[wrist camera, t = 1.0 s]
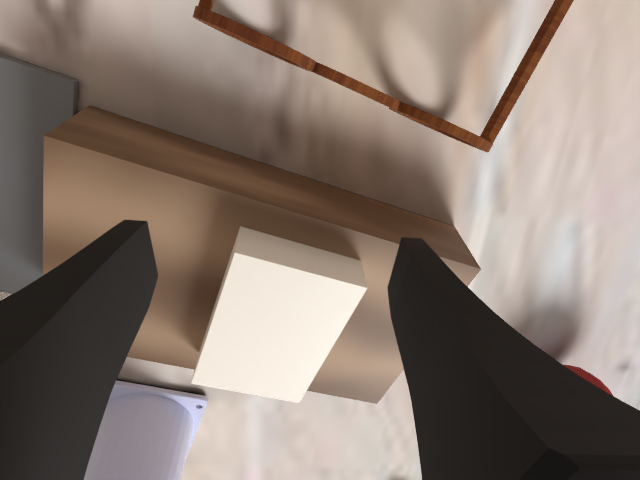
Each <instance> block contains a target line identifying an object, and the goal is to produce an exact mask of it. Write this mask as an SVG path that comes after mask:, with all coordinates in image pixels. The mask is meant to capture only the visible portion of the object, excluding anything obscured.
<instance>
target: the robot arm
mask: <svg viewBox="0 0 640 480" xmlns="http://www.w3.org/2000/svg"><path fill="white" fill-rule="evenodd" d="M157 279H158V271H157V266H156V261H155V257H154V252H153V247H152V242H151V237H150V232H149V227H148V222H147V221H139V220H123V221H122V222H120V223H118V224H117V225H116V226H114V227H113V228H111V229H110V230H108V231H107V232H106V233H104V234H103V235H101V236H100V237H99V238H97V239H96V240H94V241H93V242H92V243H90V244H89V245H87V246H86V247H85V248H83V249H82V250H80V251H79V252H77V253H76V254H75V255H73V256H72V257H70V258H69V259H67V260H66V261H65V262H63V263H62V264H60V265H59V266H57V267H55V268H54V269H52V270H51V271H49V272H48V273H46V274H44V275H43V276H41V277H40V278H38V279H37V280H35V281H34V282H32V283H30V284H29V285H27V286H26V287H24V288H22V289H21V290H19V291H17V292H16V293H14V294H12V295H10V296H9V297H7V298H5V299H3V300H1V301H0V480H181V479H182V475H183V470H184V465H185V461H186V457H187V455H188V452H189V449H190V447H191V444H192V442H193V439H194V436H195V434H196V431H197V429H198V426H199V423H200V421H201V418H202V416H203V413H204V410H205V408H206V405H207V401H208V398H207V397H206V396H203V395H198V394H192V393H186V392H181V391H175V390H169V389H163V388H157V387H152V386H146V385H140V384H134V383H129V382H123V381H117V380H116V379H117V377H118V375H119V372H120V370H121V368H122V366H123V364H124V362H125V359H126V357H127V355H128V353H129V351H130V348H131V346H132V344H133V342H134V340H135V338H136V335H137V333H138V331H139V329H140V327H141V324H142V322H143V320H144V318H145V315H146V313H147V311H148V309H149V306H150V303H151V300H152V296H153V293H154V290H155V286H156V283H157ZM387 289H388V298H389V307H390V315H391V320H392V324H393V328H394V332H395V336H396V340H397V344H398V348H399V352H400V356H401V360H402V363H403V367H404V371H405V375H406V379H407V383H408V387H409V391H410V396H411V401H412V407H413V414H414V420H415V427H416V434H417V441H418V449H419V456H420V464H421V472H422V480H640V411H639V410H637V409H635V408H634V407H632V406H630V405H628V404H626V403H624V402H622V401H621V400H619V399H617V398H615V397H614V396H612V395H610V394H608V393H607V392H605V391H604V390H602V389H600V388H599V387H597V386H595V385H594V384H592V383H590V382H589V381H587V380H585V379H584V378H582V377H581V376H579V375H577V374H576V373H574V372H573V371H571V370H570V369H568V368H567V367H565V366H564V365H562V364H561V363H559V362H558V361H556V360H555V359H554V358H552V357H551V356H549V355H548V354H546V353H545V352H544V351H542V350H541V349H539V348H538V347H537V346H535V345H534V344H533V343H531V342H530V341H529V340H527V339H526V338H525V337H523V336H522V335H521V334H520V333H518V332H517V331H516V330H515V329H513V328H512V327H511V326H510V325H508V324H507V323H506V322H505V321H504V320H502V319H501V318H500V317H499V316H498V315H497V314H496V313H494V312H493V311H492V310H491V309H490V308H489V307H488V306H487V305H486V304H485V303H484V302H483V301H481V300H480V299H479V298H478V297H477V296H476V295H475V294H474V293H473V292H472V291H471V290H470V289H469V288H468V287H467V286H466V285H465V284H464V283H463V282H462V281H461V280H460V279H459V278H458V277H457V276H456V275H455V273H454V272H453V271H452V270H451V269H450V268H449V267H448V266H447V265H446V264H445V263H444V262H443V261H442V259H441V258H440V257H439V256H438V255H437V254H436V253H435V252H434V251H433V250H432V248H431V247H430V246H429V245H428V244H427V243H426V242H425V241H424V240H423V239H422V238H407V237H401V241H400V244H399V248H398V251H397V255H396V259H395V262H394V266H393V269H392V273H391V276H390V280H389V284H388V287H387Z"/></svg>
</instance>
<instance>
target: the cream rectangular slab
mask: <svg viewBox="0 0 640 480" xmlns="http://www.w3.org/2000/svg"><path fill="white" fill-rule="evenodd" d="M366 290H367V284H366V280H365V275H364V271H363V267H362V262H361V261H360V260H357V259H353V258H350V257H346V256H343V255H339V254H336V253H332V252H329V251H325V250H322V249H318V248H315V247H311V246H308V245H304V244H301V243H297V242H294V241H290V240H287V239H283V238H280V237H276V236H273V235H269V234H266V233H262V232H259V231H255V230H252V229H248V228H245V227H241V226H240V229H239V232H238V235H237V238H236V241H235V244H234V247H233V250H232V253H231V256H230V259H229V262H228V265H227V268H226V272H225V275H224V278H223V281H222V284H221V287H220V290H219V293H218V296H217V299H216V302H215V305H214V308H213V311H212V314H211V317H210V321H209V324H208V327H207V330H206V333H205V336H204V339H203V342H202V345H201V348H200V351H199V355H198V359H197V363H196V367H195V371H194V375H193V379H192V383H191V384H196V385H202V386H207V387H213V388H219V389H224V390H230V391H235V392H241V393H246V394H252V395H258V396H263V397H269V398H274V399H280V400H286V401H291V402H297V403H300V401H301V399H302V398H303V396H304V394H305V393H306V391H307V389H308V387H309V386H310V384H311V382H312V381H313V379H314V377H315V376H316V374H317V372H318V371H319V369H320V367H321V366H322V364H323V362H324V361H325V359H326V357H327V355H328V354H329V352H330V350H331V349H332V347H333V345H334V344H335V342H336V340H337V339H338V337H339V335H340V334H341V332H342V330H343V328H344V327H345V325H346V323H347V322H348V320H349V318H350V317H351V315H352V313H353V312H354V310H355V308H356V307H357V305H358V303H359V302H360V300H361V298H362V296H363V295H364V293H365V291H366Z"/></svg>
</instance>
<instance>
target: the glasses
mask: <svg viewBox="0 0 640 480" xmlns="http://www.w3.org/2000/svg"><path fill="white" fill-rule="evenodd" d="M572 2H573V0H555V1H554V3H553V5H552V7H551V9H550V10H549V12H548V14H547V16H546V18H545V19H544V21H543V23H542V25H541V27H540V28H539V30H538V32H537V34H536V36H535V38H534V39H533V41H532V43H531V45H530V47H529V48H528V50H527V52H526V54H525V56H524V58H523V59H522V61H521V63H520V65H519V67H518V68H517V70H516V72H515V74H514V76H513V77H512V79H511V81H510V83H509V85H508V87H507V88H506V90H505V92H504V94H503V96H502V97H501V99H500V101H499V103H498V105H497V107H496V108H495V110H494V112H493V114H492V116H491V117H490V119H489V121H488V123H487V125H486V127H485V128H484V130H483V132H482V134H481V136H480V137H479V136H477V135H475V134H473V133H471V132H469V131H467V130H465V129H463V128H460V127H458V126H456V125H454V124H452V123H450V122H447V121H445V120H443V119H441V118H438V117H436V116H434V115H431V114H429V113H427V112H424V111H422V110H420V109H417V108H415V107H413V106H410V105H408V104H405V103H402V102H400V101H398V100H397V99H395V98H393V97H391V96H389V95H387V94H384V93H382V92H380V91H378V90H376V89H374V88H372V87H370V86H367V85H365V84H363V83H361V82H359V81H357V80H355V79H353V78H351V77H348V76H346V75H344V74H342V73H340V72H338V71H335V70H333V69H331V68H329V67H327V66H324V65H322V64H320V63H317V62H315V61H314V60H313V59H311V58H309V57H307V56H305V55H303V54H301V53H300V52H298V51H296V50H294V49H292V48H290V47H288V46H286V45H284V44H282V43H280V42H278V41H276V40H274V39H272V38H270V37H268V36H266V35H264V34H261V33H259V32H257V31H255V30H253V29H251V28H249V27H247V26H244V25H242V24H240V23H238V22H236V21H233V20H231V19H229V18H227V17H224V16H222V15H220V14H217V13H215V12H213V11H211V10H212V7H213V3H214V0H200V2H199V5H198V6H196V7H195V11H194V15H193V17H194V18H195V19H197V20H199V21H201V22H203V23H205V24H207V25H209V26H211V27H213V28H215V29H217V30H219V31H221V32H223V33H225V34H227V35H229V36H231V37H233V38H236V39H238V40H240V41H242V42H244V43H246V44H248V45H251V46H253V47H255V48H257V49H259V50H261V51H264V52H266V53H268V54H270V55H272V56H275V57H277V58H279V59H281V60H284V61H286V62H288V63H290V64H293V65H295V66H297V67H300V68H302V69H305V70H308V71H311V72H314V73H316V74H318V75H321V76H323V77H325V78H327V79H329V80H332V81H334V82H336V83H338V84H340V85H342V86H345V87H347V88H349V89H351V90H353V91H355V92H358V93H360V94H362V95H364V96H366V97H368V98H371V99H373V100H375V101H377V102H379V103H381V104H383V105H386V106H388V107H389V109H391V110H393V111H395V112H397V113H399V114H401V115H403V116H405V117H407V118H409V119H411V120H414V121H416V122H418V123H420V124H422V125H424V126H427V127H429V128H431V129H433V130H435V131H438V132H440V133H442V134H444V135H447V136H449V137H451V138H454V139H456V140H458V141H461V142H463V143H465V144H468V145H470V146H472V147H475V148H477V149H480V150H483V151H485V152H489V150H490V149H491V147H492V145H493V142H494V140H495V138H496V137H497V135H498V133H499V131H500V130H501V128H502V126H503V124H504V123H505V121H506V119H507V117H508V115H509V114H510V112H511V110H512V108H513V107H514V105H515V103H516V101H517V100H518V98H519V96H520V94H521V92H522V91H523V89H524V87H525V85H526V84H527V82H528V80H529V78H530V76H531V75H532V73H533V71H534V69H535V68H536V66H537V64H538V62H539V61H540V59H541V57H542V55H543V53H544V52H545V50H546V48H547V46H548V45H549V43H550V41H551V39H552V38H553V36H554V34H555V32H556V30H557V29H558V27H559V25H560V23H561V22H562V20H563V18H564V16H565V15H566V13H567V11H568V9H569V7H570V6H571V4H572Z"/></svg>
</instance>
